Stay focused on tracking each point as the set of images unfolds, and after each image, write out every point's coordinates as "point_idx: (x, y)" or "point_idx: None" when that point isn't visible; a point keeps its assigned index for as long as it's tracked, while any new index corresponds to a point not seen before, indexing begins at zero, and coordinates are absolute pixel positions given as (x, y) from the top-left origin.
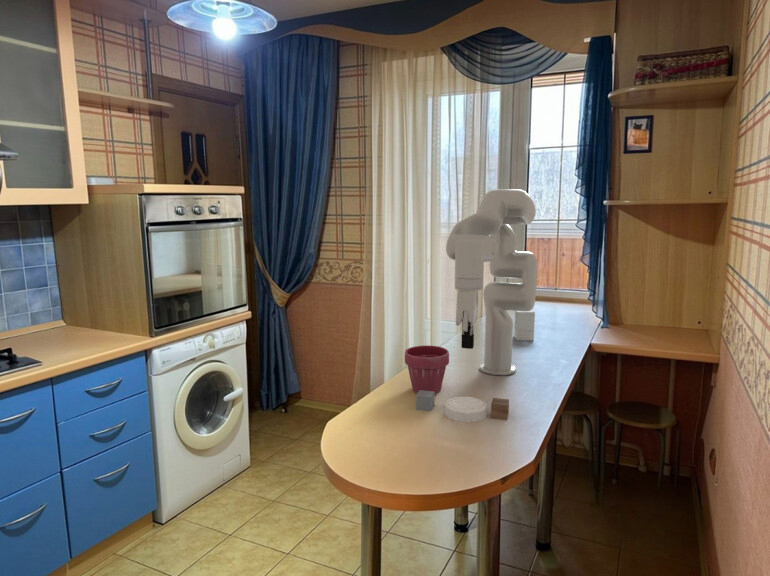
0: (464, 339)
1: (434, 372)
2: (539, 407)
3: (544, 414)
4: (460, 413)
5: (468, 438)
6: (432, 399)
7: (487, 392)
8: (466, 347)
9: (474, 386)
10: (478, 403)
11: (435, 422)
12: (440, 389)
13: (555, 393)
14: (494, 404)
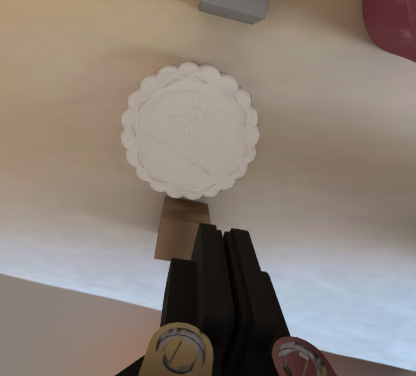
0: (167, 300)
1: (405, 14)
2: None
3: None
4: (122, 116)
5: (13, 129)
6: (223, 10)
7: (352, 201)
8: (192, 258)
9: (407, 169)
10: (191, 178)
11: (106, 25)
12: (389, 52)
13: (326, 339)
14: (160, 225)
